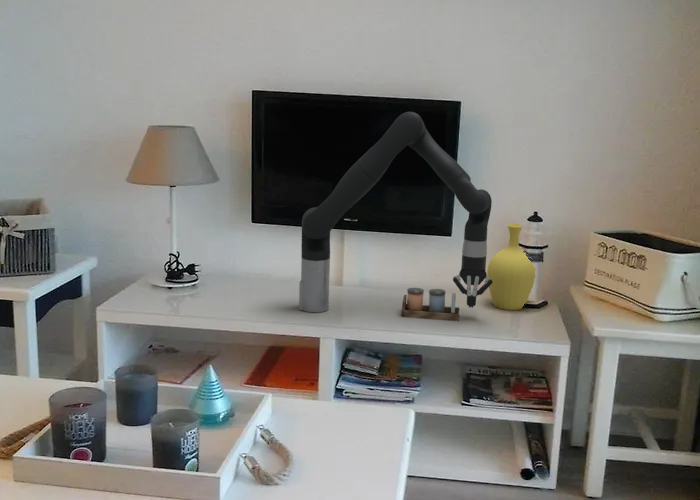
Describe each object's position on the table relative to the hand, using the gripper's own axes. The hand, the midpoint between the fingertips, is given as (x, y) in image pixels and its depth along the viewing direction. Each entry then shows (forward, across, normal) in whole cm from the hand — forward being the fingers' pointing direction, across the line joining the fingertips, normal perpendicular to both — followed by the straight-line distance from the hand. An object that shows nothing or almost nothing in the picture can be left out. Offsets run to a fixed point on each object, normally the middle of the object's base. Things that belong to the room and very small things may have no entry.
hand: (470, 306), depth 249 cm
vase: (+5, -14, -21) cm, 25 cm away
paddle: (+4, +6, 0) cm, 7 cm away
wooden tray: (+5, +13, 0) cm, 13 cm away
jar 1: (+4, +18, 0) cm, 18 cm away
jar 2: (+4, +11, 0) cm, 11 cm away
